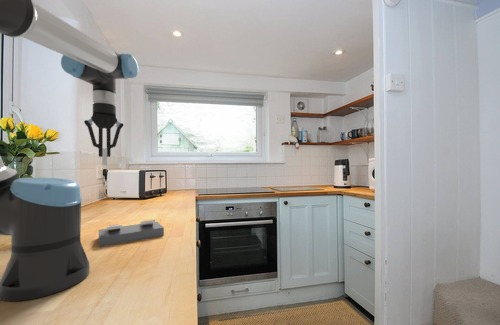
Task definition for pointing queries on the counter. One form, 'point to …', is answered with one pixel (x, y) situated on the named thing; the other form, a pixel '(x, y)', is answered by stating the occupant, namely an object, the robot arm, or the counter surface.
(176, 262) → the counter surface
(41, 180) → the robot arm
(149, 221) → the right rocker
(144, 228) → the power strip
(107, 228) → the left rocker
